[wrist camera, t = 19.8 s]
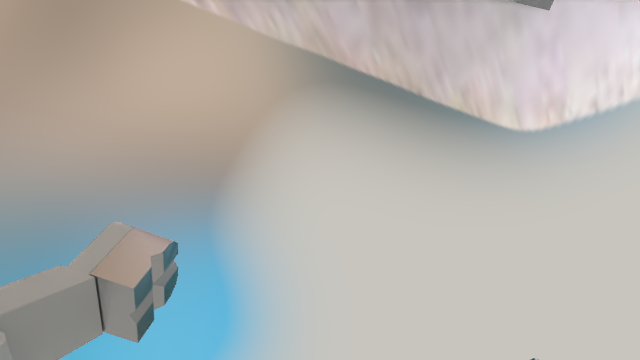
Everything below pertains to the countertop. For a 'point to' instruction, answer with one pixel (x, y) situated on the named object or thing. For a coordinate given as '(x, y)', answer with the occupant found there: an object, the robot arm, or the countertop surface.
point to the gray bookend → (536, 3)
